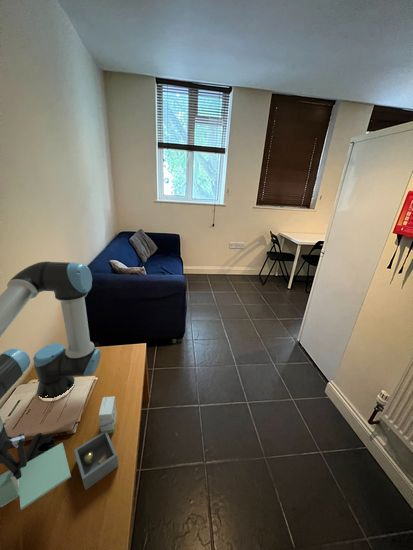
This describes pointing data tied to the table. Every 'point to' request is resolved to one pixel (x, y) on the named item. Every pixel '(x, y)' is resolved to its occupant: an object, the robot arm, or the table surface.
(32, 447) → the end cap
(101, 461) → the walnut part
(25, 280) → the robot arm
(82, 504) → the table surface
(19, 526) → the table surface
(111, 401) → the ink box
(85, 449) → the tub
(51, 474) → the lid
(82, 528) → the table surface
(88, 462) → the brass part
